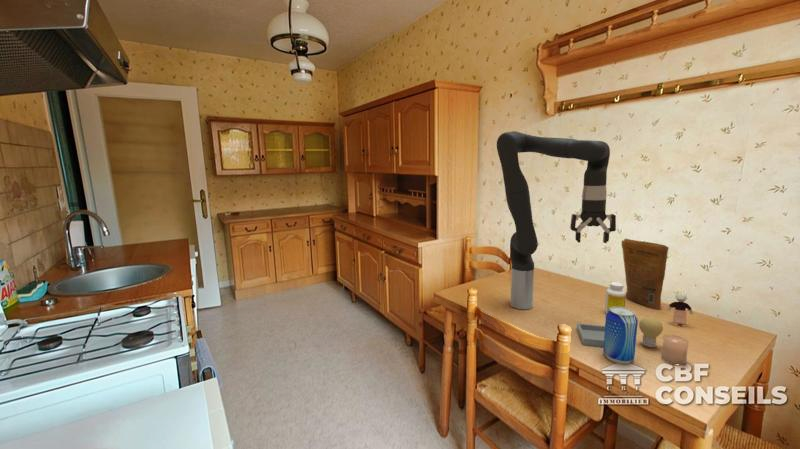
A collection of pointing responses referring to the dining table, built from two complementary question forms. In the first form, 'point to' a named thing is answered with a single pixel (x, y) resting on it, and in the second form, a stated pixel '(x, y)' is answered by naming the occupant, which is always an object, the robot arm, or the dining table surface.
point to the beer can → (620, 335)
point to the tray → (591, 334)
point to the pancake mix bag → (644, 271)
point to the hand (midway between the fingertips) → (591, 242)
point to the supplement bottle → (615, 296)
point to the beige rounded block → (674, 349)
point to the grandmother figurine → (680, 310)
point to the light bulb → (650, 330)
